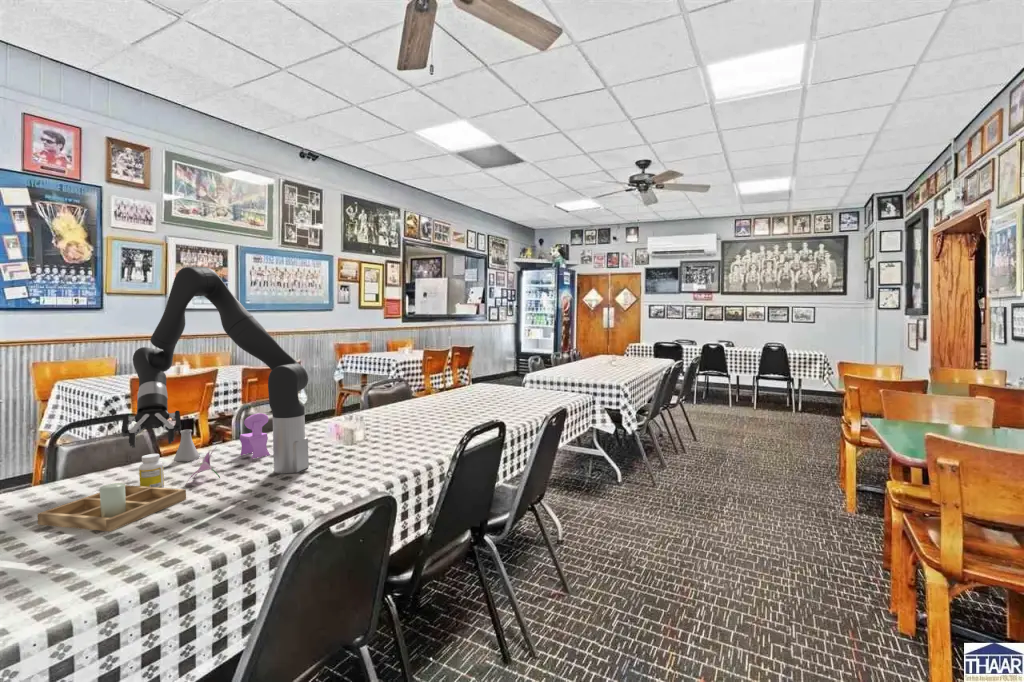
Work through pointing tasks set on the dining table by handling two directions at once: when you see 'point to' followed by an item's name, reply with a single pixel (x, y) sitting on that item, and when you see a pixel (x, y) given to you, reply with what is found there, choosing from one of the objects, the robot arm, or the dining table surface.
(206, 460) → the lily
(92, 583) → the dining table surface
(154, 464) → the supplement bottle
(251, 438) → the toy chair
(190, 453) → the flask
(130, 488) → the caddy
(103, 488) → the cylinder
